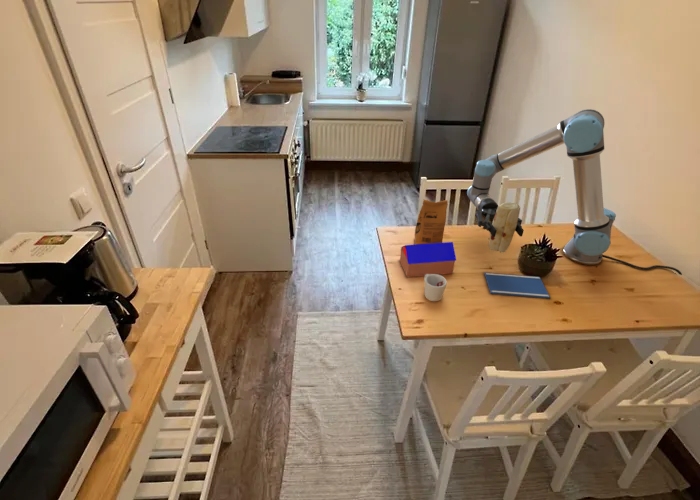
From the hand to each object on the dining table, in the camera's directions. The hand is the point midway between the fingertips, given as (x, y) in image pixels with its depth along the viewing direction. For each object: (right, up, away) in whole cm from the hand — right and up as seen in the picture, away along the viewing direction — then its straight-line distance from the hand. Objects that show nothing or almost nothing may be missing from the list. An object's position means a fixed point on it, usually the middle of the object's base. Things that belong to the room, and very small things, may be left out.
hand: (508, 233), depth 143 cm
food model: (0, -6, +9) cm, 11 cm away
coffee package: (-23, -3, +34) cm, 41 cm away
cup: (-28, -23, +3) cm, 37 cm away
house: (-27, -14, +18) cm, 36 cm away
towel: (+7, -20, +9) cm, 23 cm away
